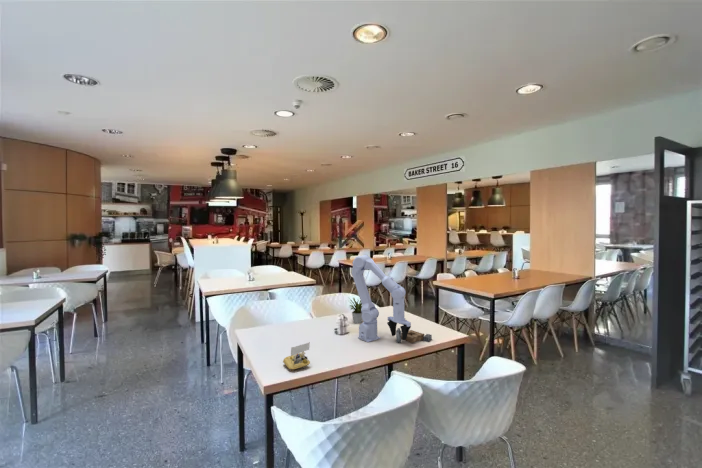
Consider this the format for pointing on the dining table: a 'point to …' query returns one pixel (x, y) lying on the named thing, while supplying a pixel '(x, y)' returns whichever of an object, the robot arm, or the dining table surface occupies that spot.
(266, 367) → the dining table surface
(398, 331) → the round bit
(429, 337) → the square bar
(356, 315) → the house plant
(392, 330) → the robot arm
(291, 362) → the yellow card holder
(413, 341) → the socket block
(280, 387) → the dining table surface
